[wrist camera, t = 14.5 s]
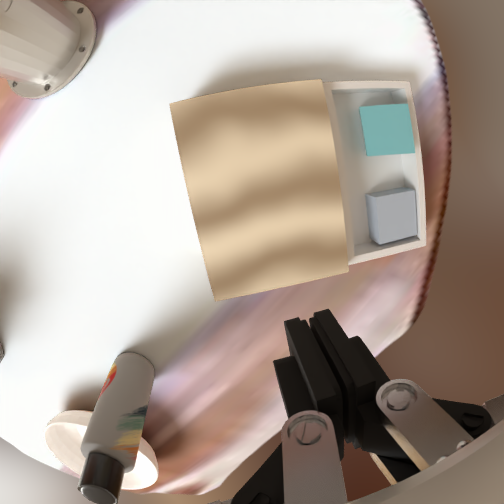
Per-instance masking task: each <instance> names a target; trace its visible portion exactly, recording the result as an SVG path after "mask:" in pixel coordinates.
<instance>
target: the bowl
mask: <svg viewBox="0 0 504 504" xmlns="http://www.w3.org/2000/svg"><path fill="white" fill-rule="evenodd" d="M92 413H93V412H92V411H85V410H71V411H65V412H61V413H60V414H58V415H57V416H56V417H54V418H53V419H52V420H50V421H49V423H48V424H47V426H46V427H45V429H44V431H43V437H44V440H45V443H46V445H47V447H48V449H49V450H50V451H51V453H52V454H53V455H54V456H55V457H56V458H57V459H58V460H59V461H60V462H61V463H62V464H64V465H65V466H66V467H68V468H69V469H71V470H72V471H74V472H75V473H77V474H79V475H81V473H82V470H83V466H84V463H85V459H86V458H85V457H84V456H83V454H82V453H81V450H80V447H81V443H82V440H83V437H84V434H85V432H86V429H87V426H88V424H89V421H90V418H91V416H92ZM157 479H158V463H157V459H156V456H155V453H154V451H153V449H152V447H151V446H150V445H149V444H148V443H147V442H146V440H144V439H143V438H142V437H141V439H140V444H139V449H138V454H137V459H136V464H135V467H134V469H133V470H132V471H130V472H128V473H124V477H123V482H122V486H121V489H141V488H145V487H149V486H150V485H152V484H154V483H155V482H156V480H157Z"/></svg>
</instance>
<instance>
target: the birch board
mask: <svg viewBox="0 0 504 504" xmlns="http://www.w3.org/2000/svg"><path fill="white" fill-rule="evenodd" d="M170 110H171V115H172V120H173V125H174V130H175V135H176V140H177V145H178V150H179V155H180V159H181V164H182V169H183V173H184V178H185V182H186V187H187V191H188V196H189V200H190V204H191V209H192V213H193V217H194V221H195V226H196V230H197V234H198V238H199V242H200V246H201V250H202V254H203V258H204V262H205V266H206V270H207V274H208V277H209V281H210V285H211V289H212V292H213V296H214V300H215V301H220V300H225V299H230V298H235V297H240V296H245V295H250V294H254V293H259V292H264V291H268V290H273V289H277V288H282V287H286V286H291V285H295V284H300V283H304V282H308V281H313V280H317V279H321V278H326V277H330V276H334V275H338V274H342V273H346V272H349V267H348V254H347V242H346V231H345V222H344V212H343V204H342V195H341V188H340V180H339V173H338V166H337V159H336V153H335V147H334V141H333V135H332V129H331V124H330V118H329V113H328V108H327V103H326V98H325V93H324V88H323V84H322V79H317V80H304V81H293V82H284V83H275V84H267V85H260V86H253V87H247V88H241V89H235V90H229V91H224V92H219V93H214V94H209V95H204V96H199V97H195V98H191V99H186V100H182V101H178V102H174V103H170Z"/></svg>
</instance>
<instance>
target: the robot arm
mask: <svg viewBox="0 0 504 504" xmlns="http://www.w3.org/2000/svg"><path fill="white" fill-rule="evenodd" d="M96 28H97V26H96V21H95V17H94V15H93V13H92V12H91V11H90V10H89V8H88V7H86V6H85V5H84V4H83V3H80V2H77V1H71V0H66V1H60V0H0V78H4V79H7V81H8V84H9V86H10V88H11V89H12V91H13V92H15V93H16V94H17V95H19V96H21V97H23V98H28V99H40V98H44V97H47V96H49V95H52V94H54V93H56V92H57V91H59V90H60V89H62V88H63V87H64V86H66V85H67V84H68V83H69V82H70V81H71V80H72V79H73V78H74V77H75V76H76V75H77V74H78V73H79V71H80V70H81V68H82V67H83V66H84V64H85V63H86V61H87V59H88V57H89V55H90V53H91V51H92V48H93V46H94V42H95V38H96ZM84 50H85V51H84ZM309 322H310V327H309V325H308V323H307V321H306V320H300V319H299V317H298V318H294V319H290V320H287V321H284V325H285V330H286V335H287V340H288V346H289V351H290V356H289V357H285V358H282V359H278V360H274V361H273V363H274V367H275V372H276V376H277V380H278V383H279V387H280V391H281V395H282V398H283V402H284V405H285V409H286V412H287V416H288V420H287V421H286V422H285V424H284V425H283V427H282V442H281V444H280V445H279V446H278V447H277V449H276V450H275V451H274V452H273V453H272V455H271V456H270V457H269V458H268V459H267V460H266V461H265V463H264V464H263V465H262V466H261V467H260V468H259V470H258V471H257V472H256V473H255V474H254V475H253V476H252V477H251V478H250V479H249V481H248V482H247V483H246V484H245V485H244V486H243V487H242V488H241V489H240V490H239V491H238V492H237V493H236V495H235V496H234V497H233V498H232V499H229V500H226V501H223V502H221V501H220V500H218V501H215V502H212V503H208V504H504V394H503V395H500V396H498V397H496V398H493V399H491V400H488V401H486V402H484V404H483V405H482V406H478V405H474V404H468V403H460V402H453V401H447V400H440V399H434V398H431V397H430V396H428V394H426V393H425V392H424V391H423V390H422V389H421V388H420V387H419V386H418V385H417V384H415V383H414V382H412V381H409V380H405V379H397V380H392V381H390V379H389V378H388V376H387V375H386V374H385V372H384V371H383V369H382V368H381V366H380V365H379V364H378V362H377V361H376V359H375V358H374V356H373V355H372V354H371V352H370V351H369V349H368V348H367V346H366V345H365V344H364V342H363V341H362V339H361V338H360V337H359V336H355V337H352V338H348V337H347V335H346V334H345V332H344V331H343V329H342V328H341V326H340V325H339V323H338V322H337V320H336V319H335V317H334V316H333V314H332V313H331V311H330V310H329V309H326V310H322V311H319V312H315V313H314V317H312V318H309ZM344 439H345V441H346V442H347V443H350V442H352V443H353V446H354V448H355V449H357V448H359V447H361V449H362V450H363V451H367V452H370V455H371V457H372V459H373V460H374V461H375V463H376V464H377V466H378V467H379V468H380V470H381V471H382V472H383V473H384V475H385V476H386V478H387V479H388V481H389V482H390V483H391V485H392V486H390V487H387V488H385V489H383V490H380V491H378V492H375V493H373V494H370V495H368V496H365V497H362V498H360V499H357V500H354V501H352V502H349V503H348V502H347V496H346V491H345V485H344V479H343V474H342V469H341V463H340V462H341V460H342V459H343V457H344Z"/></svg>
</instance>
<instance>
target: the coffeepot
mask: <svg viewBox="0 0 504 504" xmlns="http://www.w3.org/2000/svg"><path fill="white" fill-rule="evenodd" d="M3 357H4V353H3V348H2V345H1V343H0V362H1V361H2V359H3Z"/></svg>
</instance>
